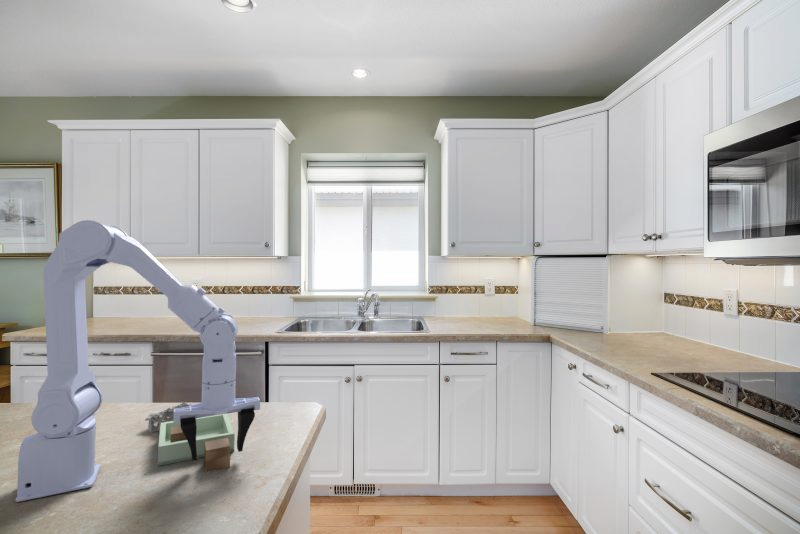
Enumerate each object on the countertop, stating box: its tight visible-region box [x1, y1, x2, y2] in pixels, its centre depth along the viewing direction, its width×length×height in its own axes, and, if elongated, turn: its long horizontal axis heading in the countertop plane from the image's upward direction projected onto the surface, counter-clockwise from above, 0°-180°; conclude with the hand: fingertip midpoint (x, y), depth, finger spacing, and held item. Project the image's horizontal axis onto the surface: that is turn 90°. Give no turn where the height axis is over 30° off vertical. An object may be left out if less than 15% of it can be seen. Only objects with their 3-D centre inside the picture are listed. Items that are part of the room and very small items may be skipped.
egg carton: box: [144, 401, 192, 435], centre depth 91 cm, size 11×8×4 cm
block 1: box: [170, 426, 187, 443], centre depth 78 cm, size 4×4×4 cm
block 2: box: [203, 438, 231, 473], centre depth 73 cm, size 4×4×4 cm
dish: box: [157, 413, 235, 467], centre depth 81 cm, size 13×13×4 cm
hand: (217, 453), depth 73 cm, fingers open, 7 cm apart
